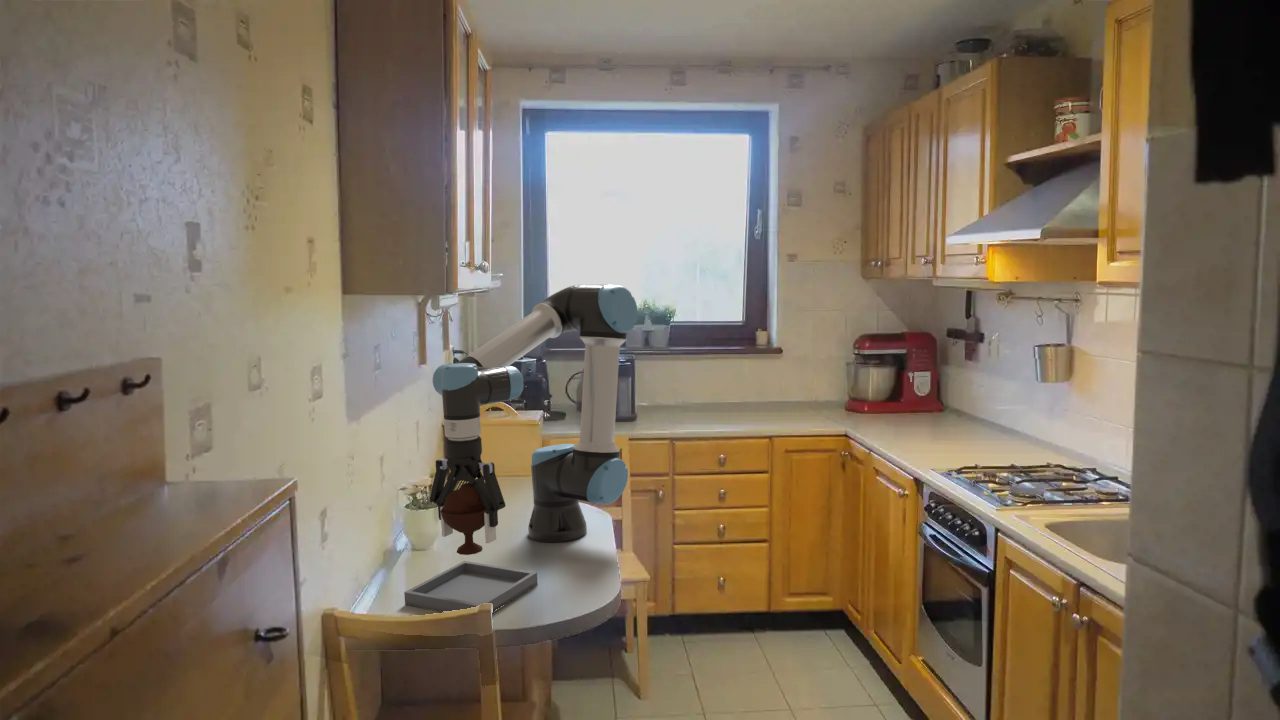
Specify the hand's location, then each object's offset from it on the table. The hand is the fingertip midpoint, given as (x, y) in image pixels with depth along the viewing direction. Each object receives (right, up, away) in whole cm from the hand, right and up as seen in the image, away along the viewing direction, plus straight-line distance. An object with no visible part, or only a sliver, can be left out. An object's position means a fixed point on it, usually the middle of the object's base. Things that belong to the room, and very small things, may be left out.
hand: (468, 538), depth 186 cm
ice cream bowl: (0, -3, 0) cm, 3 cm away
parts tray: (+1, -13, +2) cm, 13 cm away
